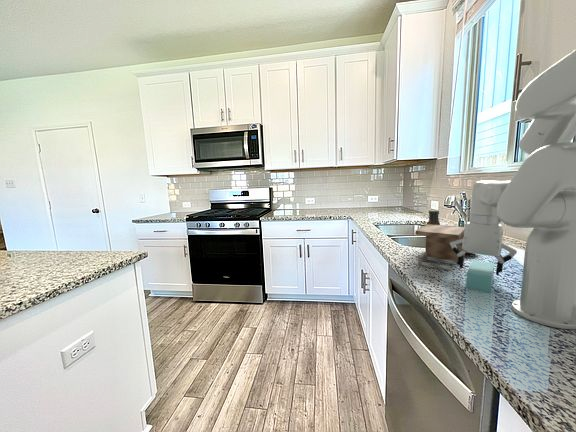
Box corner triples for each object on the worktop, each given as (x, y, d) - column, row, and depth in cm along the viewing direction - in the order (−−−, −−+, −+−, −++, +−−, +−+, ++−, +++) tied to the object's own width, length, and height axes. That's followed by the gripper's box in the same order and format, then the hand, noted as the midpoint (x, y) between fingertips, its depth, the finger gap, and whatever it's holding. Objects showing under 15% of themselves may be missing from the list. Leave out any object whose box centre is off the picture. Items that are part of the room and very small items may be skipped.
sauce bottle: (442, 255, 114) (444, 211, 111) (427, 254, 115) (429, 211, 113) (437, 251, 120) (439, 209, 118) (422, 250, 122) (424, 209, 119)
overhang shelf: (464, 261, 104) (466, 227, 102) (456, 274, 90) (458, 234, 88) (426, 255, 113) (427, 224, 111) (414, 267, 99) (415, 230, 97)
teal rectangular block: (471, 273, 91) (472, 259, 90) (493, 277, 87) (494, 263, 86) (465, 287, 79) (466, 272, 78) (490, 292, 75) (491, 276, 75)
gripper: (520, 220, 78) (513, 273, 81) (454, 215, 89) (450, 261, 92) (520, 224, 72) (513, 281, 75) (450, 218, 84) (446, 267, 87)
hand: (478, 270), depth 84 cm, fingers open, 9 cm apart
